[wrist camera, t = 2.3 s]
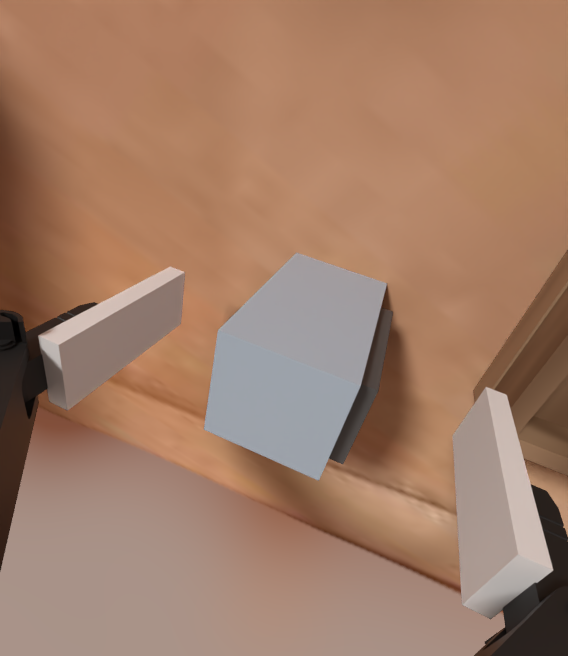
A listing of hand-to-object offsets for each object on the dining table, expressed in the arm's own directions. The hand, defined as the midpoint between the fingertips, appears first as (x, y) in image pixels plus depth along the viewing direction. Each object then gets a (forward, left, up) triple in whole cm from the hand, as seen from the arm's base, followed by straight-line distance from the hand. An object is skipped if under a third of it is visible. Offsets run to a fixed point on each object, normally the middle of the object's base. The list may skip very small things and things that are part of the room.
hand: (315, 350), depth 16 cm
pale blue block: (0, 0, -4) cm, 4 cm away
